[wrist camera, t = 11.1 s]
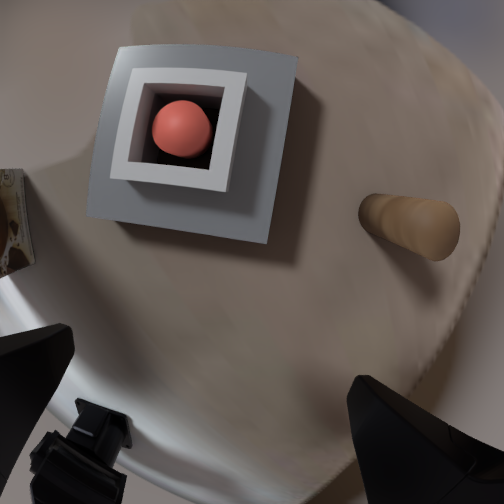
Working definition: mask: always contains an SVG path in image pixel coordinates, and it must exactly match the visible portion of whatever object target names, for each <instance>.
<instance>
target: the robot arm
mask: <svg viewBox="0 0 504 504" xmlns="http://www.w3.org/2000/svg"><path fill="white" fill-rule="evenodd" d="M74 352H75V346H74V340H73V333H72V329H71V327H70V326H67V325H64V324H61V323H59V324H55V325H50V326H46V327H42V328H38V329H34V330H29V331H25V332H21V333H16V334H12V335H8V336H3V337H0V496H1V494H2V492H3V490H4V487H5V485H6V483H7V480H8V478H9V475H10V474H11V471H12V469H13V467H14V465H15V463H16V461H17V459H18V457H19V455H20V453H21V451H22V449H23V447H24V445H25V444H26V441H27V440H28V438H29V436H30V434H31V432H32V430H33V429H34V427H35V425H36V423H37V422H38V420H39V418H40V416H41V415H42V413H43V411H44V410H45V408H46V406H47V405H48V403H49V401H50V400H51V398H52V396H53V395H54V393H55V391H56V389H57V388H58V386H59V384H60V382H61V380H62V378H63V375H64V373H65V371H66V369H67V367H68V365H69V363H70V361H71V359H72V357H73V355H74ZM75 404H76V407H77V410H78V414H79V416H78V418H77V419H76V421H75V423H74V424H73V426H72V428H71V430H70V432H69V433H68V435H67V436H66V438H65V437H63V436H62V435H60V434H59V432H58V431H56V430H55V431H54V432H53V433H51V432H47V433H46V435H45V436H44V437H43V439H42V440H41V442H40V443H39V444H38V445H37V446H36V447H35V448H34V450H33V451H32V452H31V453H30V459H31V468H30V472H32V473H33V474H35V476H34V477H33V479H32V481H31V483H30V495H31V501H32V504H121V503H122V498H123V493H124V488H125V483H126V478H127V475H125V474H123V473H120V472H118V471H116V470H114V469H112V468H113V466H114V463H115V461H116V458H117V456H118V454H119V451H120V449H121V447H125V448H128V449H131V448H132V441H131V437H130V432H129V426H128V421H127V417H126V416H125V415H124V414H121V413H118V412H115V411H112V410H109V409H106V408H103V407H100V406H98V405H95V404H92V403H90V402H87V401H84V400H82V399H79V398H77V399H76V400H75ZM347 407H348V413H349V420H350V427H351V434H352V439H353V444H354V448H355V452H356V455H357V459H358V463H359V467H360V471H361V475H362V479H363V483H364V487H365V492H366V496H367V500H368V504H504V451H501V450H499V449H497V448H494V447H492V446H490V445H488V444H485V443H483V442H481V441H479V440H477V439H475V438H473V437H470V436H468V435H466V434H465V433H463V432H461V431H459V430H458V429H456V428H454V427H452V426H451V425H448V424H447V423H446V422H444V421H442V420H440V419H439V418H437V417H435V416H434V415H432V414H430V413H429V412H427V411H425V410H424V409H422V408H421V407H419V406H417V405H416V404H414V403H412V402H411V401H409V400H408V399H406V398H404V397H403V396H401V395H400V394H398V393H396V392H395V391H393V390H392V389H390V388H388V387H387V386H385V385H384V384H382V383H381V382H379V381H378V380H376V379H374V378H373V377H371V376H370V375H358V376H356V377H355V379H354V381H353V384H352V386H351V388H350V390H349V392H348V395H347Z"/></svg>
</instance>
